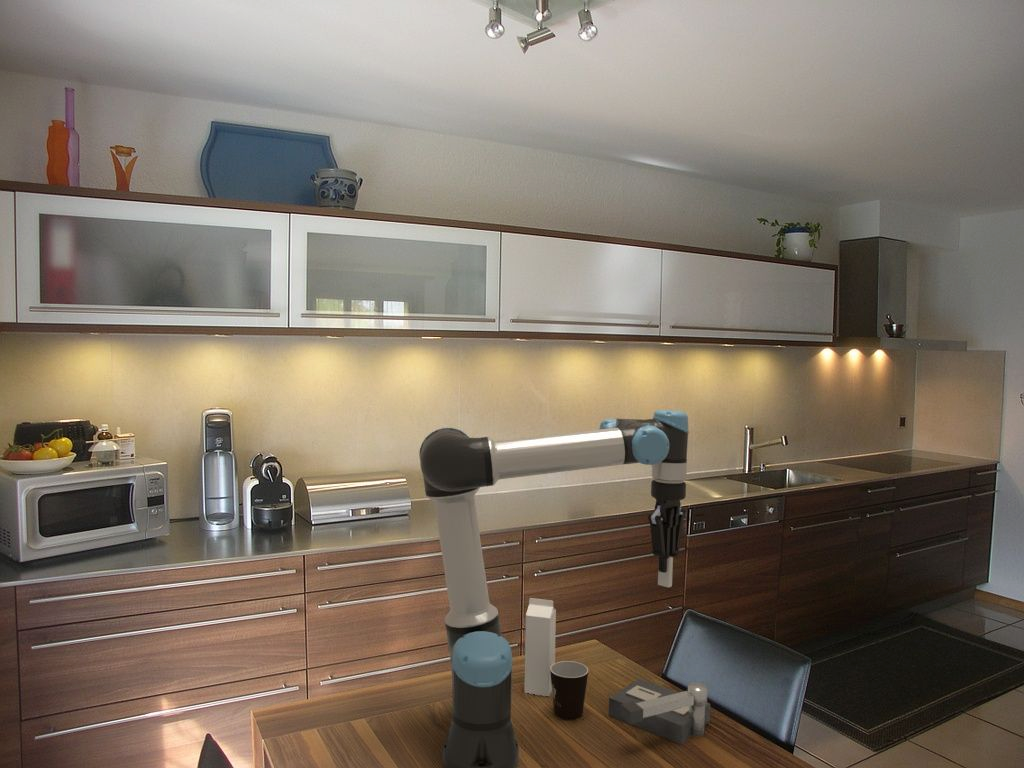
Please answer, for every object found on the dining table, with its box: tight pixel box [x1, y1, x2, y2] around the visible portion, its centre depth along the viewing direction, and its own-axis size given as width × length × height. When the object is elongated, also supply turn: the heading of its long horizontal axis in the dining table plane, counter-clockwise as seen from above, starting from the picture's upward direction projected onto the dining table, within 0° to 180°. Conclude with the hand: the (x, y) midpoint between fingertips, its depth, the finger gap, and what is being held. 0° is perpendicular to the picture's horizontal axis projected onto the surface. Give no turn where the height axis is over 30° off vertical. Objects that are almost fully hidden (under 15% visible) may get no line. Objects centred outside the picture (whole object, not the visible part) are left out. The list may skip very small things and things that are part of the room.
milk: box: [524, 597, 557, 698], centre depth 172 cm, size 6×6×22 cm
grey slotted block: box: [608, 678, 711, 745], centre depth 159 cm, size 20×13×6 cm, turn 49°
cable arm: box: [620, 682, 708, 725], centre depth 149 cm, size 20×4×3 cm, turn 116°
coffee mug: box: [550, 660, 589, 721], centre depth 162 cm, size 12×9×10 cm
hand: (664, 585), depth 160 cm, fingers closed
